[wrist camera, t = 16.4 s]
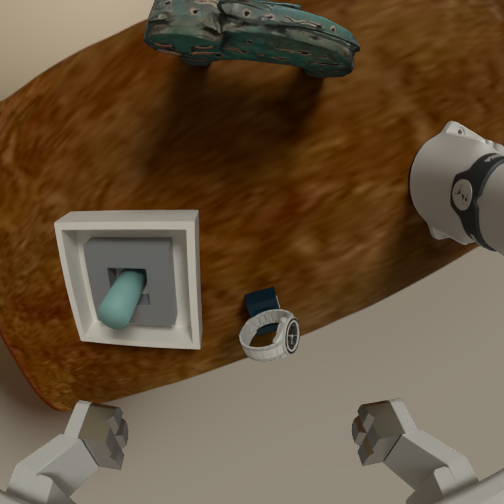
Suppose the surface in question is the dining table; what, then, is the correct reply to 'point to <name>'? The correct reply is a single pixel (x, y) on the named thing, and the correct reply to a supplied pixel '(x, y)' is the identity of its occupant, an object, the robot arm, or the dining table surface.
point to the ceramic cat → (250, 35)
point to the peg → (122, 298)
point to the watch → (269, 327)
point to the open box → (135, 256)
